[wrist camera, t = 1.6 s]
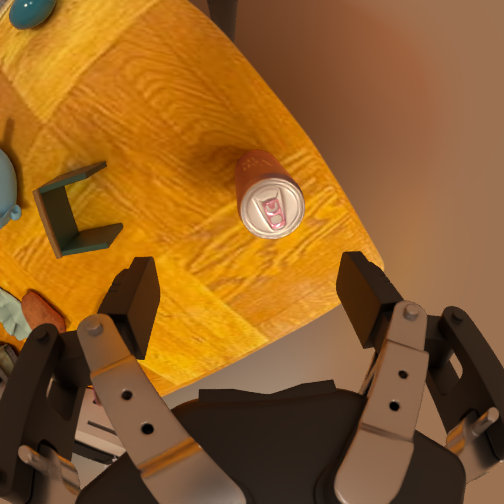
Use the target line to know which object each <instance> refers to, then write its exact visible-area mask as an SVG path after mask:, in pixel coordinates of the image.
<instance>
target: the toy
mask: <svg viewBox="0 0 504 504" xmlns="http://www.w3.org/2000/svg"><path fill="white" fill-rule="evenodd" d="M16 361H17V356H16V355H15V353H14V351H13V350H12V348H11V347H10V345H8V343H6V344H5V345H3V346H2V345H1V344H0V377H1V378H2V380H3V381H4V382H5V384H7V381H8V379H9V378H8V377H9V376H10V374H11V372H12V369H13V367H14V365H15V363H16ZM7 376H8V377H7Z"/></svg>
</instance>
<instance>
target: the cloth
mask: <svg viewBox="0 0 504 504" xmlns="http://www.w3.org/2000/svg"><path fill="white" fill-rule="evenodd" d="M0 322H1V323H3V326H4V328H5V329H6V331H7V332H8V333H9V334H10V335H11V336H12V335H14V336H15V337H16V338H17V339H18V340H22V339H25V338H27V337H28V336H29V334H30V333H31V331H32V330H31V328H30V326H29V324H28V323H27V321H26V319H25V317H24V315H23V313H22V309H21V303H20V302H19V301H18V300H17V299H16V298H15V297H13V296H12V295H11V294H8V293H7V292H6V291H3V290H2V289H1V288H0Z"/></svg>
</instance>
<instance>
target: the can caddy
mask: <svg viewBox="0 0 504 504" xmlns="http://www.w3.org/2000/svg"><path fill="white" fill-rule="evenodd" d="M106 166H107V165H106V161H105V162H101V163H98V164H94V165H91V166H88V167H85V168H82V169H79V170H76V171H73V172H70V173H67V174H64V175H61V176H58V177H56V178H55V179H53V180H51V181H49V182H48V183H46V184H44V185H42V186H41V187H39V188H37V189H36V190H34V191H33V195H34V198H35V202H36V205H37V208H38V211H39V214H40V217H41V220H42V223H43V225H44V228H45V231H46V233H47V236H48V239H49V241H50V244H51V246H52V249H53V251H54V253H55V256H56V258H57V259H59V258H62V257H63V256H65V255H71V254H77V253H82V252H88V251H94V250H100V249H106V248H109V246H110V245H111V244H112V242H113V241H114V239H115V238H116V237H117V235H118V234H119V233H120V231H121V230H122V229H123V225H122V223H120V224H115V225H109V226H105V227H100V228H95V229H90V230H85V231H81V232H78V229H77V226H76V223H75V220H74V217H73V214H72V211H71V208H70V205H69V202H68V198H67V195H66V192H65V188H64V185H67V184H70V183H74V182H77V181H80V180H83V179H87V178H88V177H90V176H91V175H93V174H95V173H96V172H98V171H100V170H101V169H103V168H105V167H106Z"/></svg>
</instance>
